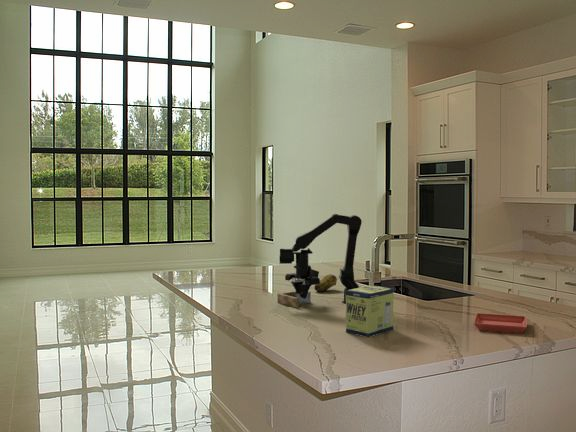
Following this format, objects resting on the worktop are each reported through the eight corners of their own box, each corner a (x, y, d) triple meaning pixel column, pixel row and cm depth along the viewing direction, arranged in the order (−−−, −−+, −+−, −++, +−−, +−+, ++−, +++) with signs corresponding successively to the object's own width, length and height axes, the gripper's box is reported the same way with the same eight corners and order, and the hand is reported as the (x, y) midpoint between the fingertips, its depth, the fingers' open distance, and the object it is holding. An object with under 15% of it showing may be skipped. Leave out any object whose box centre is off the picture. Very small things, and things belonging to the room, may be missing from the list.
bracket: (296, 305, 258) (296, 294, 258) (289, 303, 263) (289, 292, 262) (310, 302, 263) (310, 291, 263) (302, 300, 267) (302, 290, 267)
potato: (310, 290, 293) (310, 274, 293) (333, 288, 297) (333, 273, 297) (316, 293, 285) (316, 277, 285) (340, 291, 289) (340, 275, 289)
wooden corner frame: (322, 303, 261) (322, 294, 261) (296, 307, 252) (296, 298, 252) (302, 298, 272) (302, 290, 272) (277, 302, 263) (277, 293, 263)
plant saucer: (476, 320, 227) (476, 312, 227) (526, 324, 221) (526, 315, 220) (473, 331, 210) (473, 322, 210) (527, 336, 204) (527, 326, 204)
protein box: (345, 332, 210) (345, 290, 209) (371, 325, 220) (371, 284, 220) (368, 337, 202) (368, 293, 201) (394, 329, 213) (394, 287, 212)
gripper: (329, 264, 257) (329, 298, 258) (303, 259, 272) (303, 292, 273) (309, 266, 251) (310, 302, 252) (284, 262, 266) (284, 295, 267)
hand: (302, 297), depth 261 cm, fingers open, 3 cm apart
